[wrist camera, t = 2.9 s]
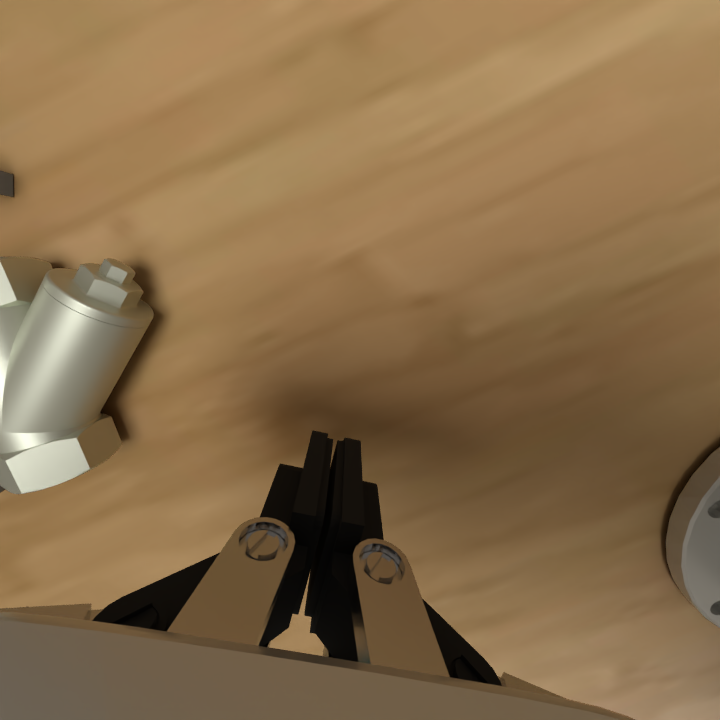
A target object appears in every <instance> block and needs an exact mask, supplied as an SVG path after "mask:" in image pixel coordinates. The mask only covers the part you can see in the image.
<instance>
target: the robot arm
mask: <svg viewBox="0 0 720 720" xmlns="http://www.w3.org/2000/svg"><path fill="white" fill-rule="evenodd" d="M327 437H328V434H327V433H322V432H318V431H312V435H311V439H310V443H309V447H308V451H307V455H306V459H305V463H304V467H303V468H299V467H294V466H289V465H285V464H280V465H279V467H278V470H277V473H276V475H275V478H274V481H273V483H272V486H271V489H270V491H269V494H268V497H267V499H266V502H265V505H264V507H263V510H262V513H261V515H260V517H258V518H254V519H250V520H248V521H246V522H244V523H242V524H241V525H240V526H239V527H238V528H237V529H236V530H235V531H234V533H233V534H232V536H231V537H230V539H229V540H228V542H227V543H226V545H225V546H224V547H223V549H222V550H221V552H220V553H218V554H216V555H214V556H211V557H209V558H207V559H205V560H203V561H200V562H198V563H196V564H194V565H192V566H189V567H187V568H185V569H183V570H181V571H178V572H176V573H174V574H172V575H170V576H167V577H165V578H163V579H161V580H159V581H156V582H154V583H152V584H150V585H148V586H145V587H143V588H141V589H139V590H137V591H134V592H132V593H130V594H128V595H126V596H123V597H121V598H120V599H118V600H116V601H115V602H113V603H111V604H109V605H108V606H107V607H106V608H104V609H102V610H91V604H75V605H56V606H38V607H20V608H1V609H0V720H635V719H633V718H631V717H628V716H625V715H622V714H619V713H616V712H613V711H610V710H607V709H604V708H601V707H598V706H594V705H589V704H585V703H581V702H577V701H573V700H569V699H566V698H563V697H561V696H559V695H556V694H554V693H552V692H549V691H547V690H545V689H542V688H540V687H537V686H535V685H533V684H530V683H528V682H526V681H523V680H521V679H519V678H516V677H514V676H512V675H509V674H507V673H505V672H504V673H503V675H502V677H498V676H497V675H496V673H495V671H494V670H493V668H492V667H491V666H490V665H489V664H488V663H487V661H486V660H485V659H484V658H483V657H482V656H481V655H480V654H479V653H478V652H477V651H476V650H475V649H474V648H473V647H472V646H471V645H470V644H469V643H468V642H467V641H465V640H464V639H463V638H462V637H461V636H460V635H459V634H458V633H457V632H456V631H455V630H454V629H453V628H452V627H451V626H450V625H449V624H448V623H447V622H446V621H445V620H444V619H443V618H442V617H441V616H440V615H439V614H438V613H437V612H436V611H435V610H434V609H433V608H432V607H431V606H429V605H428V604H427V603H426V602H425V601H424V600H423V599H422V597H421V594H420V592H419V589H418V586H417V583H416V580H415V577H414V575H413V572H412V569H411V566H410V564H409V562H408V560H407V558H406V556H405V555H404V554H403V553H402V551H401V550H400V549H398V548H397V547H396V546H394V545H393V544H391V543H389V542H387V541H385V540H384V539H383V531H382V522H381V513H380V505H379V496H378V488H377V484H375V483H370V482H365V481H362V462H361V442H360V441H359V440H354V439H350V438H344V441H339V440H338V441H337V444H336V448H335V452H334V456H333V460H332V463H331V454H332V446H333V439H330V438H327ZM330 463H331V467H330ZM666 554H667V563H668V566H669V569H670V572H671V575H672V578H673V580H674V582H675V583H676V585H677V586H678V588H679V589H680V591H681V592H682V594H683V595H684V596H685V597H686V598H687V600H688V601H689V602H690V603H691V604H692V605H693V606H694V607H695V608H696V609H697V610H698V611H699V612H700V613H701V614H702V615H703V616H704V617H705V618H706V619H708V620H709V621H711V622H712V623H713V624H715V625H716V626H718V627H719V628H720V447H719V448H718V449H716V450H715V451H714V452H713V453H711V455H710V456H709V457H708V458H707V459H706V460H705V461H704V462H703V463H702V465H701V466H700V467H699V468H698V469H697V470H696V471H695V472H694V473H693V475H692V476H691V478H690V479H689V481H688V482H687V484H686V486H685V487H684V489H683V490H682V492H681V493H680V495H679V497H678V499H677V502H676V504H675V506H674V509H673V511H672V514H671V516H670V520H669V525H668V531H667V537H666ZM310 569H311V570H310ZM309 573H310V578H309V585H308V592H307V599H306V606H305V616H310V617H312V618H311V627H310V633H315V634H316V635H317V636H318V637H319V639H320V640H321V641H322V643H323V644H324V650H323V656H318V655H312V654H306V653H300V652H293V651H287V650H281V649H275V648H269V645H270V641H271V640H273V639H274V638H275V637H277V636H278V635H279V634H281V633H282V632H283V631H285V630H286V629H287V628H289V624H290V621H291V617H292V613H293V614H298V613H299V610H300V606H301V603H302V599H303V595H304V592H305V588H306V584H307V581H308V577H309Z"/></svg>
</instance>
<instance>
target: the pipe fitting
mask: <svg viewBox="0 0 720 720" xmlns="http://www.w3.org/2000/svg"><path fill="white" fill-rule="evenodd" d="M135 274H136V273H135V271H134V270H133V269H132V268H131V267H129V266H127V265H126V264H124V263H122V262H120V261H117V260H114V259H110V258H108V259H104V261H103V263H102V265H99V264H93V263H88V264H82V265H80V267H79V269H78V270H73V269H67V268H55V269H53V268H52V266H51V263H49V262H46V261H43V260H40V259H36V258H29V257H0V485H1V487H3V488H4V489H6V490H7V491H9V492H11V493H14V494H24V493H30V492H35V491H39V490H42V489H46V488H49V487H52V486H55V485H58V484H60V483H63V482H66V481H68V480H70V479H73V478H75V477H77V476H79V475H82V474H84V473H86V472H88V471H89V470H91V469H93V468H95V467H97V466H98V465H100V464H102V463H103V462H105V461H106V460H107V459H109V458H110V457H111V456H112V455H113V454H114V453H115V452H116V451H117V450H118V449H119V447H120V446H121V445H122V442H121V439H120V437H119V434H118V432H117V429H116V427H115V424H114V422H113V419H112V417H111V416H109V415H106V414H103V413H100V411H101V409H102V408H103V406H104V404H105V402H106V401H107V399H108V397H109V395H110V393H111V392H112V390H113V388H114V386H115V385H116V383H117V381H118V379H119V377H120V376H121V374H122V372H123V370H124V369H125V367H126V365H127V363H128V362H129V360H130V358H131V356H132V354H133V353H134V351H135V349H136V347H137V346H138V344H139V342H140V340H141V339H142V337H143V335H144V333H145V331H146V330H147V328H148V326H149V324H150V323H151V321H152V319H153V317H154V312H153V310H152V308H151V307H150V306H149V305H148V304H147V303H145V302H144V301H142V300H141V299H140V298H141V296H142V294H143V290H142V289H141V287H140V286H139V285H138V284H137V283H136V282H135V281H134V280H132V279H133V278H134V276H135Z"/></svg>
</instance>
